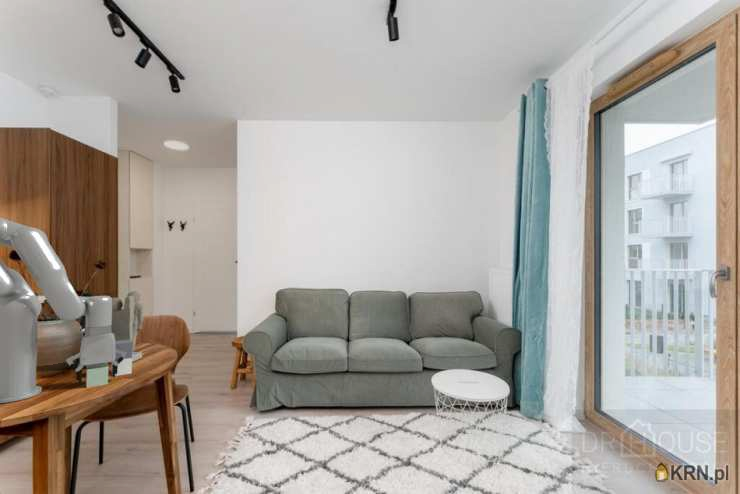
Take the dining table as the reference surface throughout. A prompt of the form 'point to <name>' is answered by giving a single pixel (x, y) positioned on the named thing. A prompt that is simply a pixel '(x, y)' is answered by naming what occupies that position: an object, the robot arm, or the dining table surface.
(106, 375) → the sage block
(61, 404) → the dining table surface
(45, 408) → the dining table surface
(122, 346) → the charcoal block
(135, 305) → the sculpture
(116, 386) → the dining table surface
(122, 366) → the cream block
